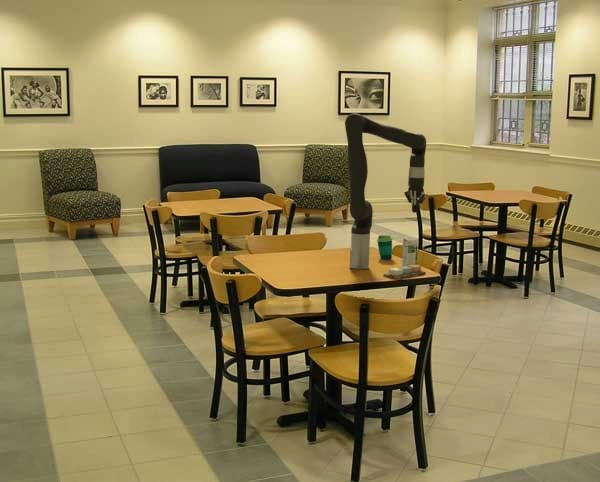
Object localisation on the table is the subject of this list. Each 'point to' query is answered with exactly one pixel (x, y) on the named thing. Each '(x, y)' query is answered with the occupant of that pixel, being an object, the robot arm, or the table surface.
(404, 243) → the syrup box
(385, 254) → the cup
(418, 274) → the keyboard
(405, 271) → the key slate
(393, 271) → the key cream
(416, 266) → the key terracotta
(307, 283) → the table surface
